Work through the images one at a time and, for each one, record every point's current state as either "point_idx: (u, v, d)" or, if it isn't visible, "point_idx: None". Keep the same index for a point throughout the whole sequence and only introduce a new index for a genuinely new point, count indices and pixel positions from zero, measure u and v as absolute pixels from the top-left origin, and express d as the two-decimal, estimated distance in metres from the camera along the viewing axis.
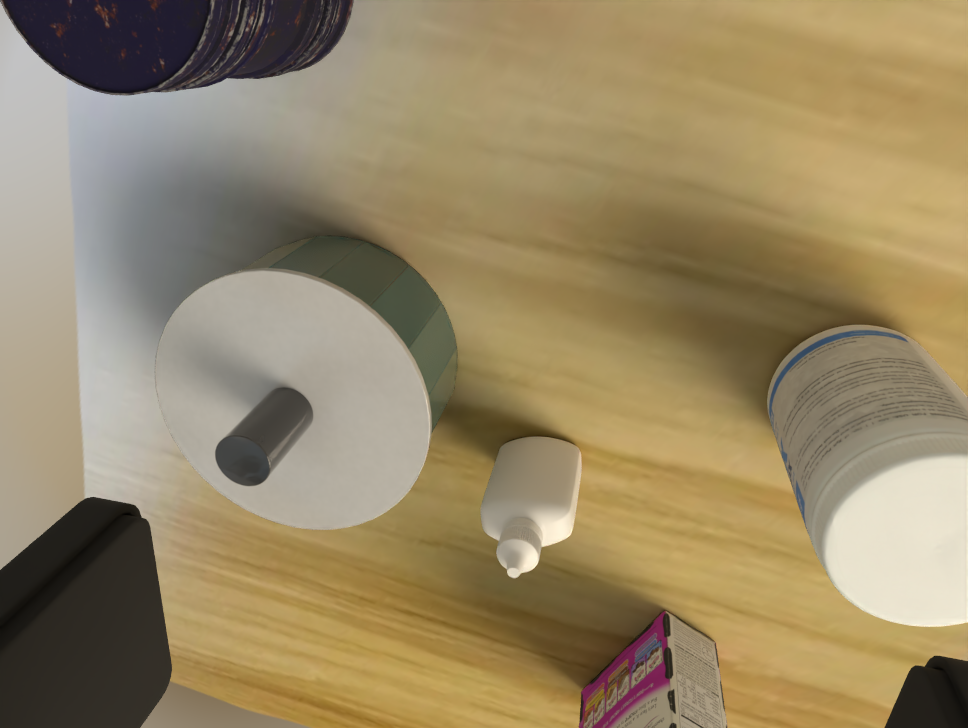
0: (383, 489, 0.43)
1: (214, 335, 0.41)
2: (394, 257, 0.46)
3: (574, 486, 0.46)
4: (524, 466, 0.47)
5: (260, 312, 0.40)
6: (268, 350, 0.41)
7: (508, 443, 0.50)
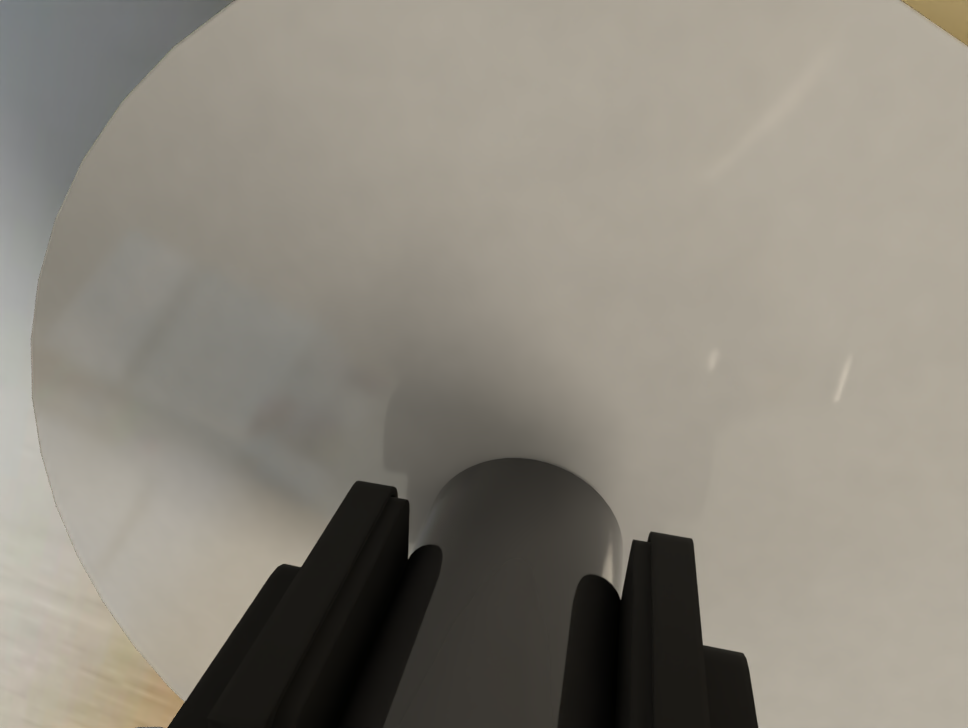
0: None
1: (249, 252, 0.10)
2: None
3: None
4: None
5: (458, 139, 0.09)
6: (473, 311, 0.10)
7: None
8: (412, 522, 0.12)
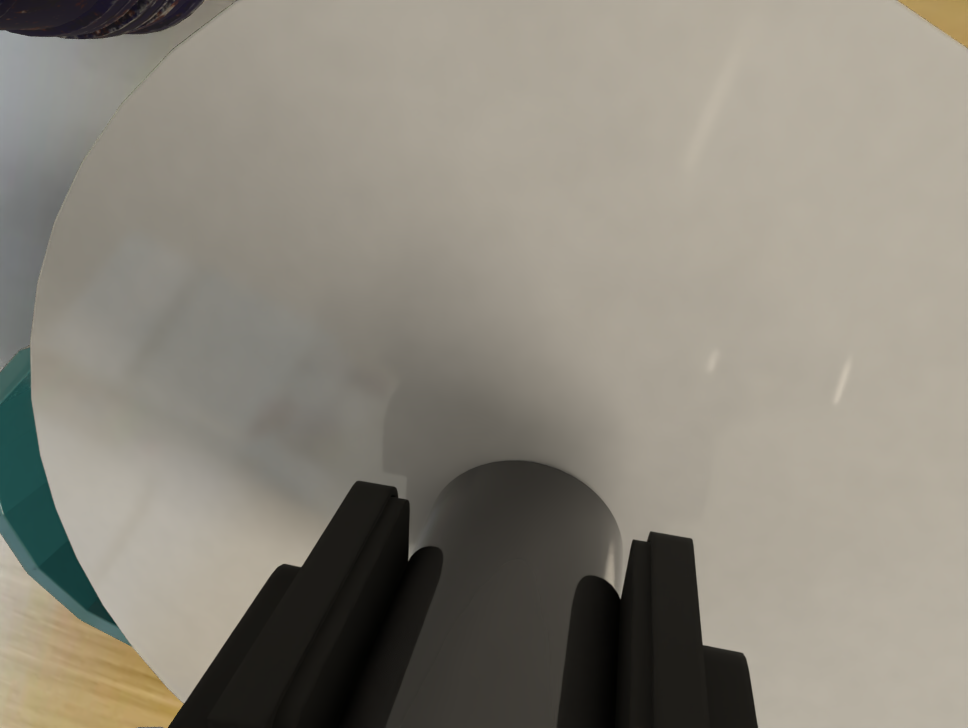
0: None
1: (249, 254, 0.10)
2: None
3: None
4: None
5: (457, 142, 0.09)
6: (472, 314, 0.10)
7: None
8: (412, 524, 0.12)
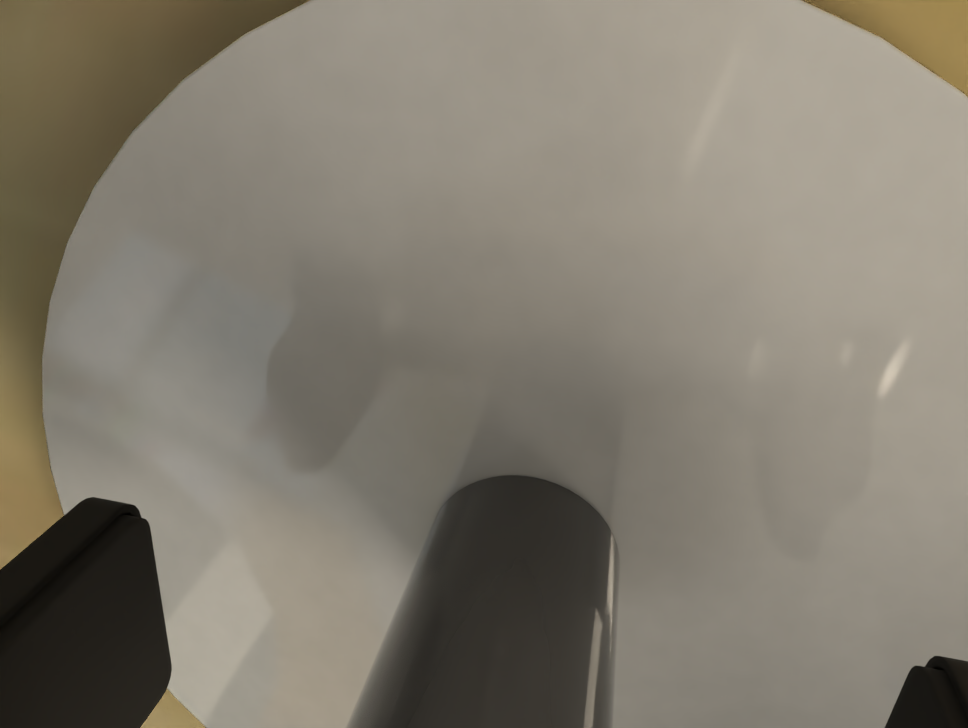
0: None
1: (257, 275, 0.11)
2: None
3: None
4: None
5: (458, 169, 0.09)
6: (473, 334, 0.10)
7: None
8: (414, 537, 0.12)
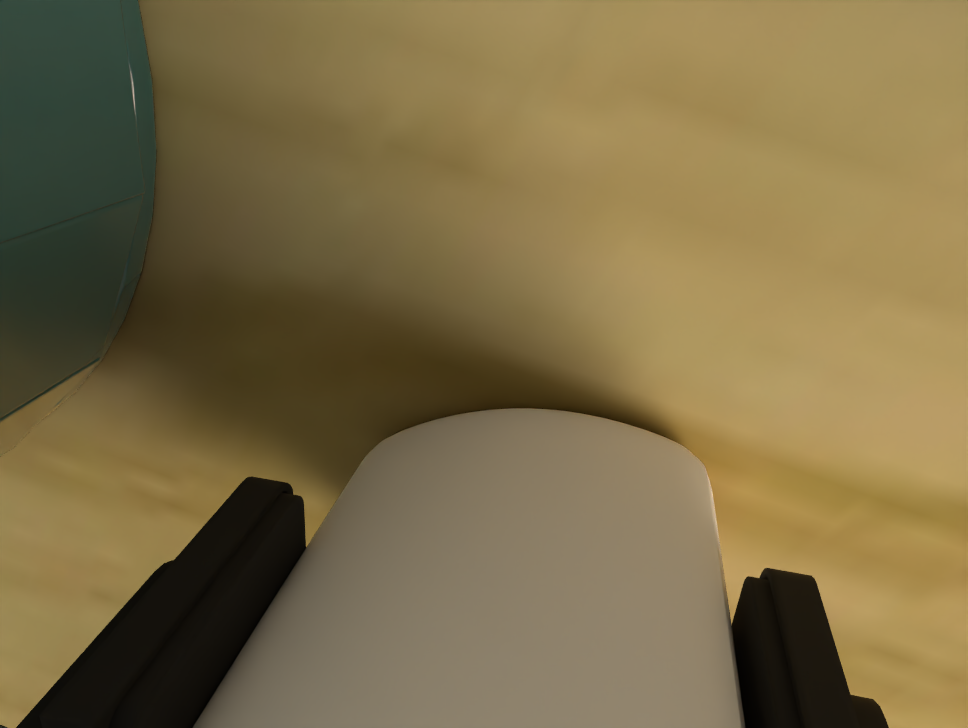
0: None
1: None
2: None
3: (737, 701, 0.07)
4: (436, 564, 0.08)
5: None
6: None
7: (396, 438, 0.12)
8: None
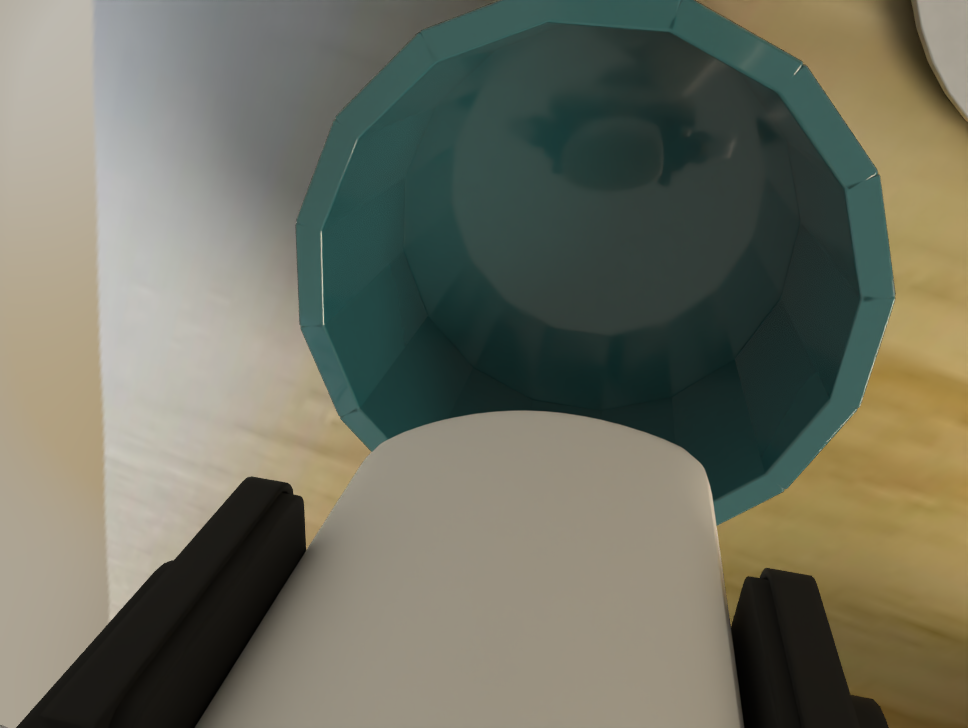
0: None
1: None
2: None
3: (737, 705, 0.07)
4: (437, 567, 0.08)
5: None
6: None
7: (396, 440, 0.12)
8: None
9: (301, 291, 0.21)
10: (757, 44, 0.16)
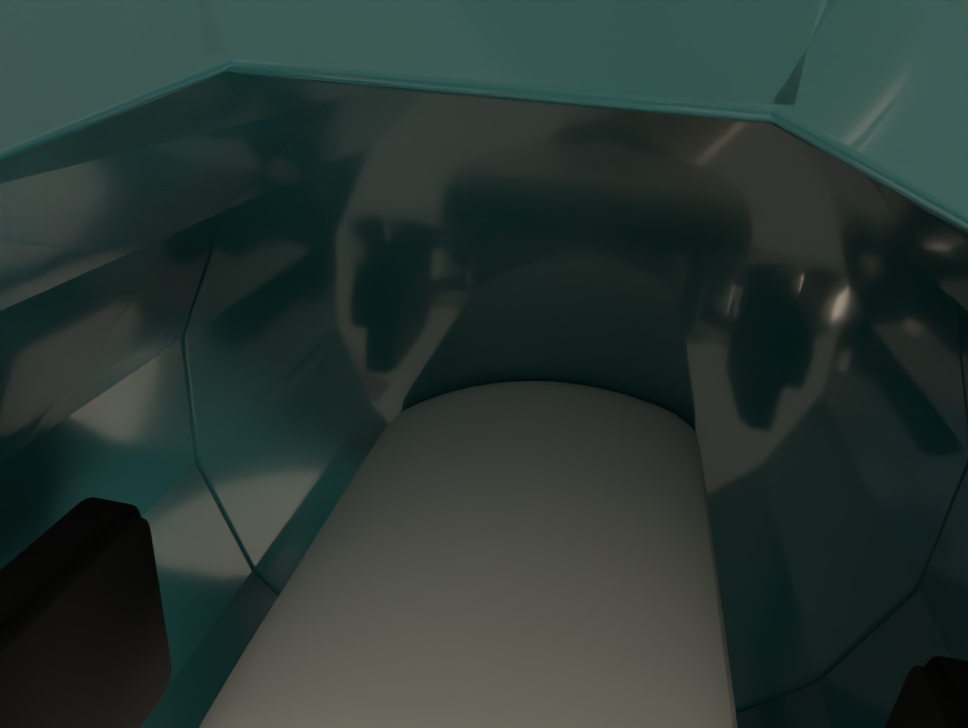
0: None
1: None
2: None
3: (719, 616, 0.09)
4: (459, 506, 0.10)
5: None
6: None
7: (415, 408, 0.13)
8: None
9: None
10: None
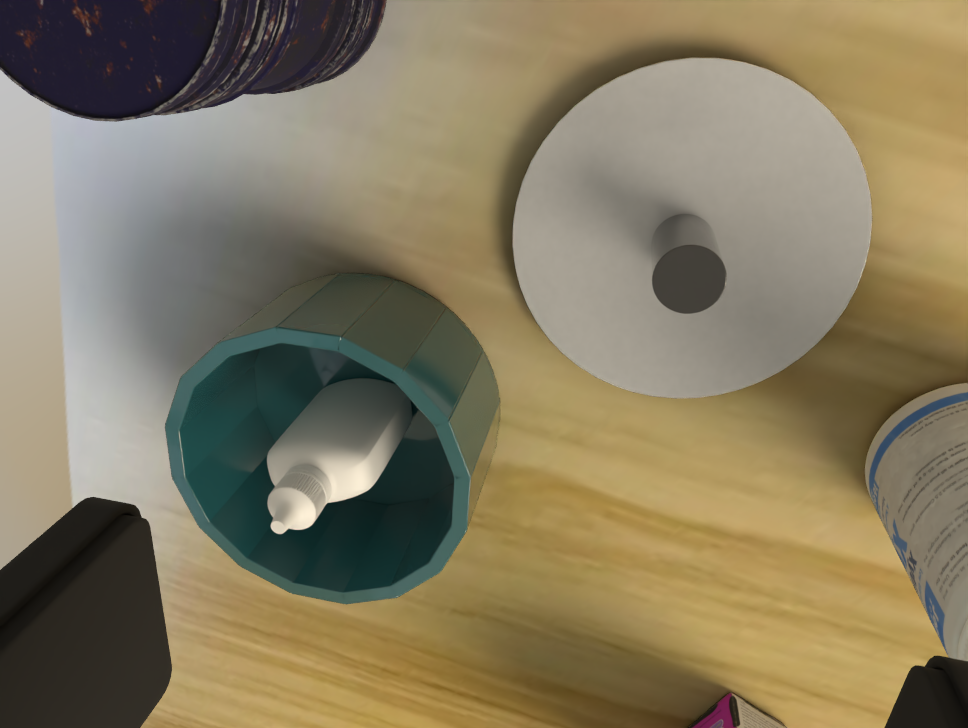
0: (784, 342, 0.37)
1: (607, 149, 0.34)
2: (429, 298, 0.40)
3: (384, 431, 0.38)
4: (330, 408, 0.39)
5: (676, 115, 0.33)
6: (674, 165, 0.34)
7: (327, 386, 0.43)
8: (646, 240, 0.36)
9: (171, 460, 0.38)
10: (379, 360, 0.33)
